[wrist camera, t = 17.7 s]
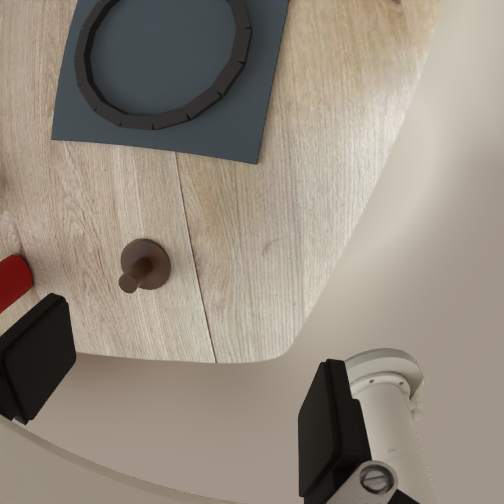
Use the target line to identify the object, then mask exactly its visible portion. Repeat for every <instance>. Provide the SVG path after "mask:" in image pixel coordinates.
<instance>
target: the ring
mask: <svg viewBox="0 0 504 504" xmlns="http://www.w3.org/2000/svg"><path fill="white" fill-rule="evenodd" d="M100 1H101V2H99V1H98V2H97V3H96V4H95V6H94V8H93V9H92V11H91V12H90V14H89V15H88V17H87V19H86V20H85V22H84V23H83V25H82V28H84V29H81V30H80V33H79V37H78V41H77V45H76V50H75V54H74V58H76V59H75V60H74V67H75V74H76V80H77V86H78V87H80V88H79V91H80V92H81V94H82V95H83V97H84V98H85V100H86V101H87V103H88V104H89V106H90V107H91V109H92V110H93V111H95V113H96V114H97V115H99V116H101V117H103V118H104V119H106V120H108V121H109V122H111V123H113V124H115V125H116V126H118V127H121V128H132V129H143V130H161V129H164V128H167V127H171V126H174V125H177V124H181V123H184V122H188V121H191V119H195V118H197V117H198V116H199V115H201V114H202V113H203V112H205V111H206V110H207V109H209V108H210V107H211V106H213V105H214V104H216V103H217V102H218V101H220V100H221V99H223V97H222V96H221V95H220V94H222V95H224V96H226V94H227V93H228V91H229V90H230V88H231V87H232V85H233V84H234V82H235V81H236V79H237V78H238V76H239V75H240V73H241V72H242V71H243V69H244V68H245V67H244V65H246V62H247V57H248V52H249V47H250V43H251V38H252V27H251V24H250V20H249V16H248V12H247V9H246V5H245V1H244V0H226V2H227V3H228V4H229V5H230V7H231V10H232V14H233V18H234V22H235V26H236V32H235V36H234V41H233V46H232V50H231V55H230V59H229V61H228V62H227V64H226V65H225V66H224V68H223V69H222V71H221V72H220V74H219V75H218V77H217V78H216V80H215V81H214V83H213V84H212V86H211V87H209V88H208V89H207V90H205V91H204V92H203V93H201V94H200V95H198V96H197V97H196V98H194V99H193V100H192V101H190V102H189V103H188V104H186V105H185V106H184V107H181V108H178V109H175V110H171V111H168V112H165V113H162V114H159V115H156V116H143V115H130V114H128V113H126V112H124V111H123V110H121V109H119V108H117V107H115V106H114V105H112V104H110V103H108V102H107V101H106V99H105V98H104V96H103V95H102V94H101V92H100V91H99V89H98V88H97V86H96V85H95V83H94V80H93V74H92V68H91V61H90V55H91V50H92V46H93V41H94V37H95V33H96V31H97V29H98V28H99V26H100V24H101V23H102V21H103V20H104V18H105V16H106V15H107V13H108V12H109V10H110V9H111V8H112V7H113V6H114V5H115V4H117V3H118V2H119V1H120V0H100Z"/></svg>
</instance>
